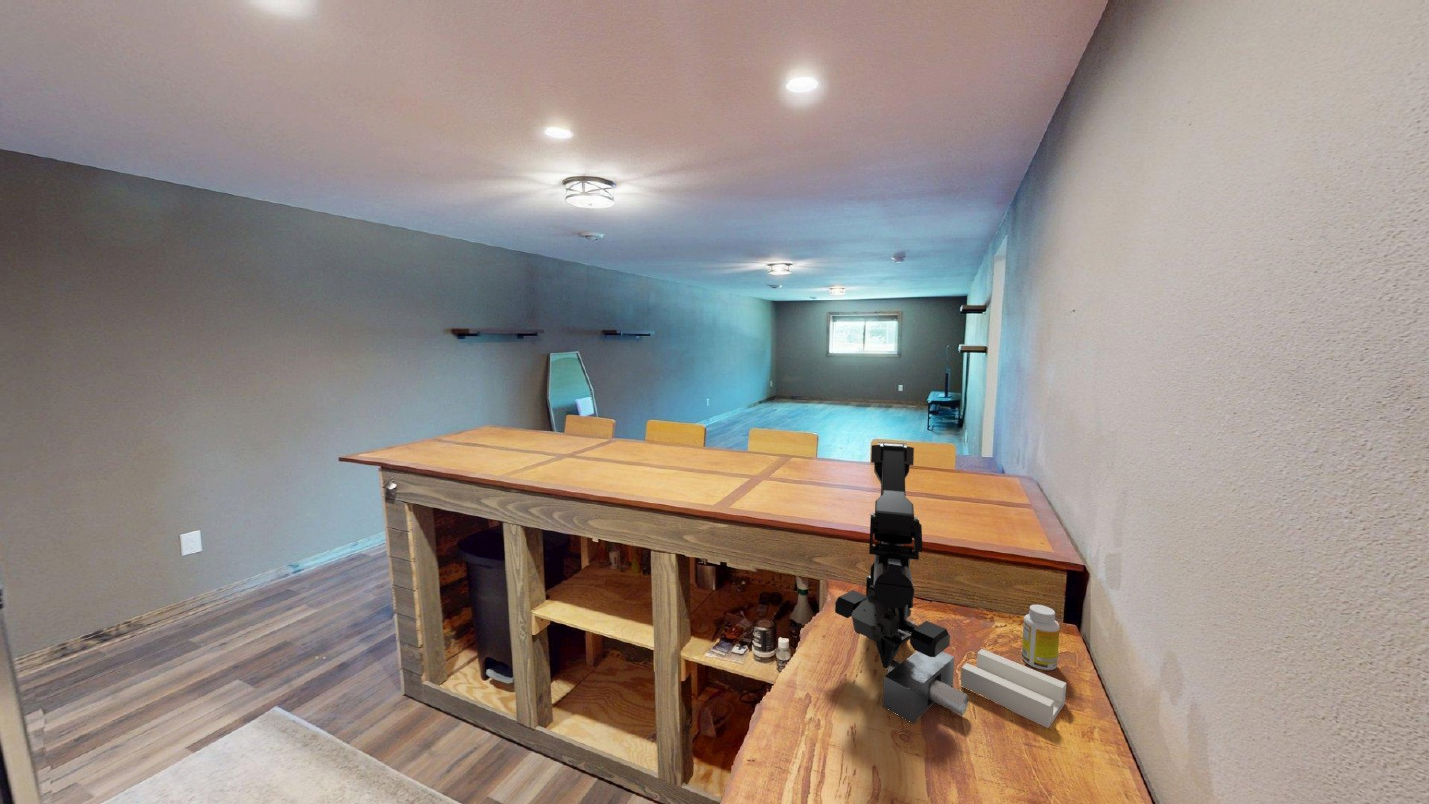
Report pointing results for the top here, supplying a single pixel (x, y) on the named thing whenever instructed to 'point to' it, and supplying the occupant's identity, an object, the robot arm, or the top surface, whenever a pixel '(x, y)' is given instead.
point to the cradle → (1015, 687)
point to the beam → (915, 683)
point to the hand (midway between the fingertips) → (886, 667)
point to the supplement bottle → (1040, 638)
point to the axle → (943, 694)
